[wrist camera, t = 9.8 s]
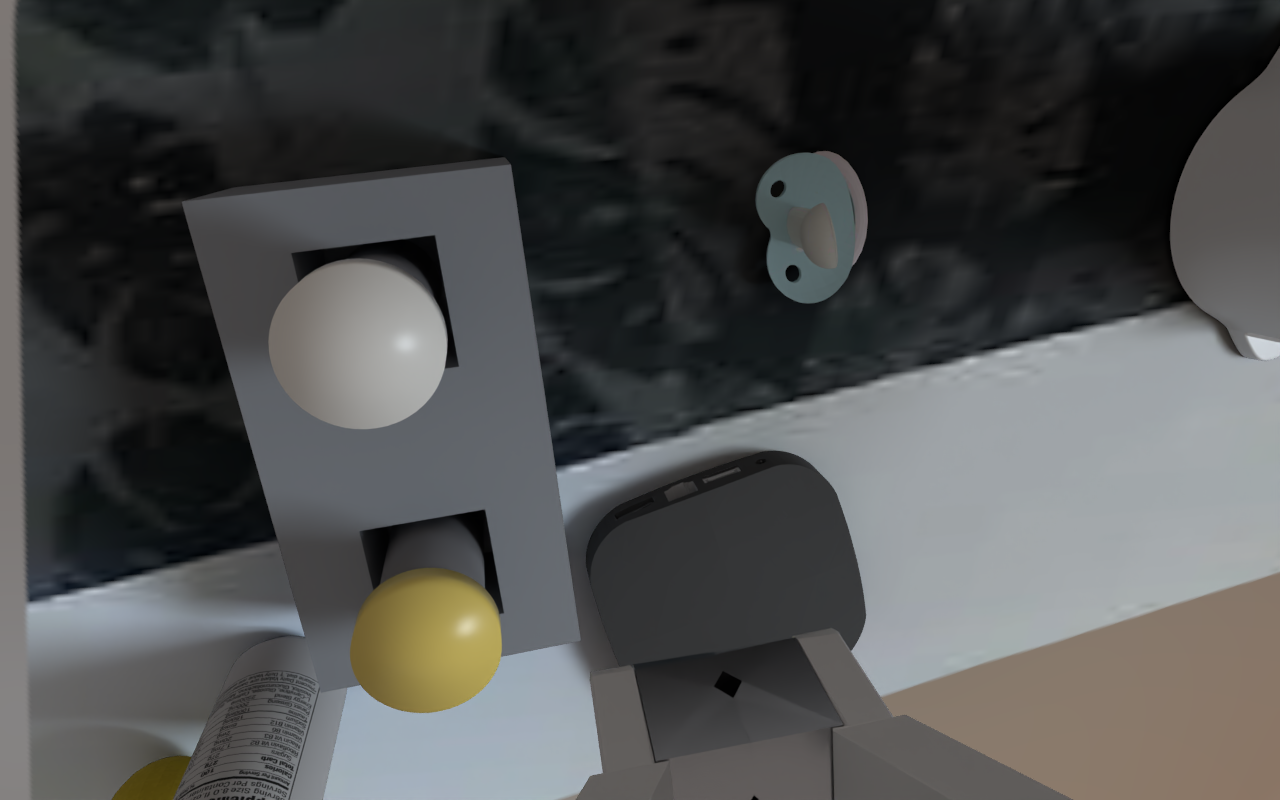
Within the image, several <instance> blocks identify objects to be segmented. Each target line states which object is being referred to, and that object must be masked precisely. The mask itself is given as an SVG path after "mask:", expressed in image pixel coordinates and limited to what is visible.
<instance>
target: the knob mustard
mask: <svg viewBox="0 0 1280 800" xmlns="http://www.w3.org/2000/svg"><path fill="white" fill-rule="evenodd" d="M501 652H502V639H501V622H500V615H499V611H498V608H497V606H496V604H495V601H494V600H493V598H492V597H491V595H490V594H489V593H488V592H487V590H486V589H485V574H484V528H483V510H478V511H472V512H467V513H461V514H455V515H449V516H444V517H438V518H432V519H426V520H421V521H415V522H409V523H403V524H398V525H392V528H391V533H390V538H389V542H388V547H387V552H386V557H385V562H384V567H383V572H382V577H381V582H380V585H379V586H378V587H377V588H376V589H374V590H373V591H372V592H371V594H370V595H369V596H368V597H367V598H366V600H365V601H364V603H363V604H362V606H361V608H360V610H359V613H358V616H357V619H356V623H355V627H354V632H353V636H352V640H351V646H350V661H351V666H352V669H353V672H354V675H355V677H356V679H357V680H358V682H359V683H360V685H361V686H362V687H363V689H364V690H365V691H366V692H367V693H368V694H369V695H371V696H372V697H373V698H375V699H376V700H377V701H379V702H381V703H383V704H384V705H387V706H389V707H392V708H394V709H398V710H401V711H407V712H414V713H430V712H437V711H442V710H446V709H450V708H453V707H455V706H458V705H460V704H462V703H464V702H466V701H468V700H469V699H471V698H472V697H474V696H475V695H476V694H478V693H479V692H480V691H481V690H482V689H483V688H484V687H485V686H486V685H487V684H488V683H489V681H490V680H491V678H492V677H493V675H494V674H495V672H496V670H497V667H498V665H499V662H500V658H501Z"/></svg>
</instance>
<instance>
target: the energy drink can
mask: <svg viewBox="0 0 1280 800" xmlns="http://www.w3.org/2000/svg"><path fill="white" fill-rule="evenodd" d="M346 694H347V688H343V689H338V690H333V691H328V692H323V693H321V691H320V688H319V684H318V680H317V677H316V673H315V670H314V666H313V663H312V659H311V656H310V652H309V649H308V645H307V642H306V638H305V637H300V636H284V637H278V638H275V639H271V640H268V641H265V642H261V643H259V644H257V645H255V646H253V647H251V648H250V649H248V650H247V651H246V652H244V653H243V654H242V655H241V656H240V657H239V658H238V659H237V660H236V662H235V663H234V665H233V666H232V668H231V670H230V672H229V674H228V677H227V679H226V681H225V683H224V686H223V688H222V690H221V692H220V695H219V697H218V699H217V701H216V704H215V706H214V708H213V710H212V713H211V715H210V717H209V719H208V722H207V724H206V726H205V728H204V731H203V733H202V735H201V737H200V740H199V742H198V744H197V746H196V749H195V751H194V753H193V755H192V758H191V760H190V762H189V764H188V767H187V769H186V771H185V773H184V776H183V778H182V780H181V782H180V785H179V787H178V789H177V791H176V794H175V796H174V798H173V800H323V797H324V792H325V788H326V783H327V779H328V774H329V770H330V765H331V761H332V756H333V752H334V747H335V743H336V738H337V734H338V730H339V725H340V721H341V716H342V712H343V707H344V703H345V698H346Z"/></svg>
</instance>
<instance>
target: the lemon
mask: <svg viewBox="0 0 1280 800" xmlns="http://www.w3.org/2000/svg"><path fill="white" fill-rule="evenodd" d="M191 758H192V757H189V756H173V757H167V758H163V759H160V760H158V761H155V762H152V763H150V764H148V765H147V766H145V767H143V768H142V769H140V770H139V771H137V772H136V773H135V774H133V775H132V776H131V777H130V778H129V779H128V780H127V781H126V782H125V783H124V784H123V785H122V786H121V788H120V789H119V790H118V791H117V792H116V794H115V795H114V797H113V798H112V800H173V798H174V796H175V794H176V791H177V789H178V787H179V785H180V782H181V780H182V778H183V776H184V773H185V771H186V769H187V767H188V764H189V762H190V760H191Z"/></svg>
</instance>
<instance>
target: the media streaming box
mask: <svg viewBox="0 0 1280 800" xmlns="http://www.w3.org/2000/svg"><path fill="white" fill-rule="evenodd" d="M730 467H731V468H730ZM727 468H728V469H727ZM724 469H725V470H724ZM721 470H722V471H721ZM718 471H719V472H718ZM704 476H705V477H704ZM586 567H587V571H588V575H589V579H590V583H591V587H592V590H593V594H594V597H595V600H596V603H597V606H598V610H599V613H600V616H601V619H602V622H603V624H604V627H605V630H606V633H607V636H608V638H609V641H610V644H611V646H612V649H613V651H614V654H615V656H616V659H617V661H618V664H619V666H620V667H622V666H628V665H631V667H632V668H633V664H639V663H645V662H651V661H658V660H664V659H670V658H677V657H683V656H689V655H696V654H702V653H708V652H718V651H723V650H729V649H734V648H739V647H745V646H750V645H755V644H761V643H766V642H772V641H777V640H782V639H788V638H792V636H796V635H801V634H805V633H810V632H815V631H820V630H824V629H829V628H832V629H834V630H836V631H838V632H839V634H840V635H841V637H842V639H843V640H844V642H845V643H846V645H847V646H848V648H849V649H850V651H851V650H852V649H853V647H854V646H855V644H856V643H857V641H858V639H859V637H860V635H861V633H862V630H863V627H864V624H865V619H866V611H865V602H864V595H863V588H862V583H861V577H860V572H859V568H858V563H857V559H856V555H855V551H854V547H853V543H852V540H851V536H850V533H849V529H848V526H847V523H846V520H845V517H844V514H843V511H842V508H841V505H840V502H839V500H838V497H837V494H836V492H835V490H834V489H833V487H832V486H831V485H830V483H829V482H828V481H827V480H826V479H825V478H824V477H823V476H822V475H821V474H820V473H819V472H818V471H817V470H816V469H815V468H814V467H813V466H812V465H811V464H810V463H809V462H807V461H806V460H804V459H803V458H801V457H799V456H796V455H794V454H791V453H787V452H780V451H768V452H762V453H759V454H755V455H752V456H749V457H746V458H742V459H739V460H736V461H733V462H730V463H727V464H724V465H721V466H718V467H715V468H713V469H710V470H707V471H704V472H701V473H698V474H696V475H693V476H690V477H688V478H685V479H682V480H680V481H677V482H675V483H672V484H669V485H667V486H664V487H662V488H659V489H657V490H654V491H652V492H650V493H647V494H645V495H642V496H640V497H638V498H635V499H633V500H631V501H628V502H626V503H624V504H621V505H619V506H618V507H616V508H615V509H613V510H612V511H611V512H610V513H608V514H607V515H606V516H605V517H604V518H603V519H602V520H601V522H600V523H599V524H598V526H597V527H596V529H595V530H594V532H593V534H592V536H591V538H590V541H589V544H588V547H587V553H586Z"/></svg>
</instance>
